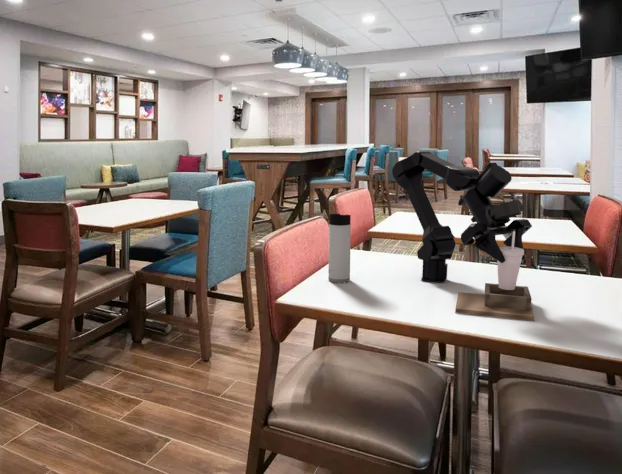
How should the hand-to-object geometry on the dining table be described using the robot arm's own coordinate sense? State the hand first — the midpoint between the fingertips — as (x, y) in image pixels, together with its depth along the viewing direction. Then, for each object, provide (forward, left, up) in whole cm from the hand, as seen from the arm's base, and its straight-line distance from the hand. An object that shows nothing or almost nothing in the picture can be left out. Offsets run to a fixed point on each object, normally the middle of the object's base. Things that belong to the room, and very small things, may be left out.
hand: (513, 260), depth 115 cm
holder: (-4, -1, -12) cm, 12 cm away
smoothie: (-1, +1, -7) cm, 7 cm away
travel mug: (-46, +10, -12) cm, 48 cm away
